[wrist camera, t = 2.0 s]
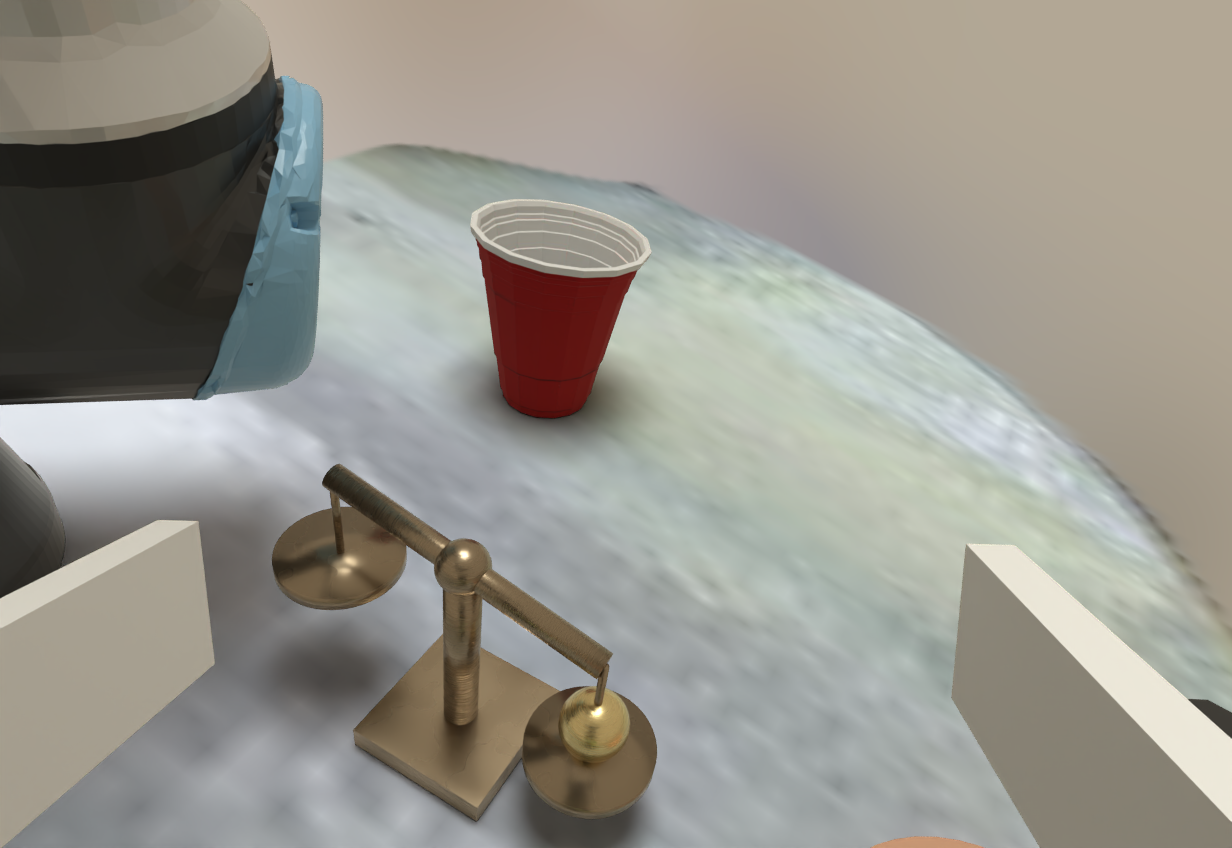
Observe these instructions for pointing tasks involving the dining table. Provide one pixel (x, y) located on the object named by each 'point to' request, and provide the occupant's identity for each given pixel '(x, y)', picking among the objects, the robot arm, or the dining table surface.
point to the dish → (925, 843)
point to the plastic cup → (553, 296)
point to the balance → (469, 668)
